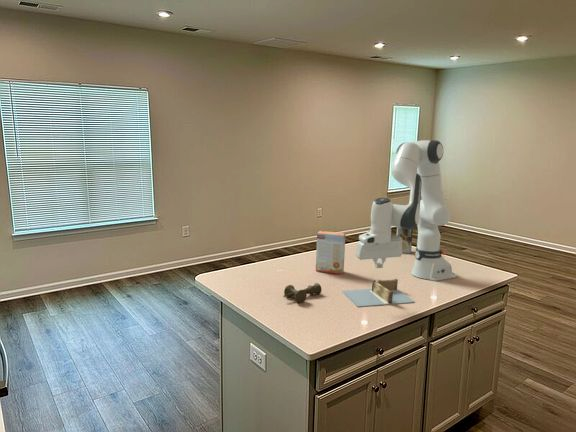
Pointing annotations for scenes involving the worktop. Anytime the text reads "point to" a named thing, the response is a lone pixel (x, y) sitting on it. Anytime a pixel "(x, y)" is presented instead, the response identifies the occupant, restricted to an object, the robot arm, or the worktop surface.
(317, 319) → the worktop surface
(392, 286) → the card
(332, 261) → the cracker box
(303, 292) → the kendama
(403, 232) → the coffee box
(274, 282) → the worktop surface
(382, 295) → the tan wooden bar
